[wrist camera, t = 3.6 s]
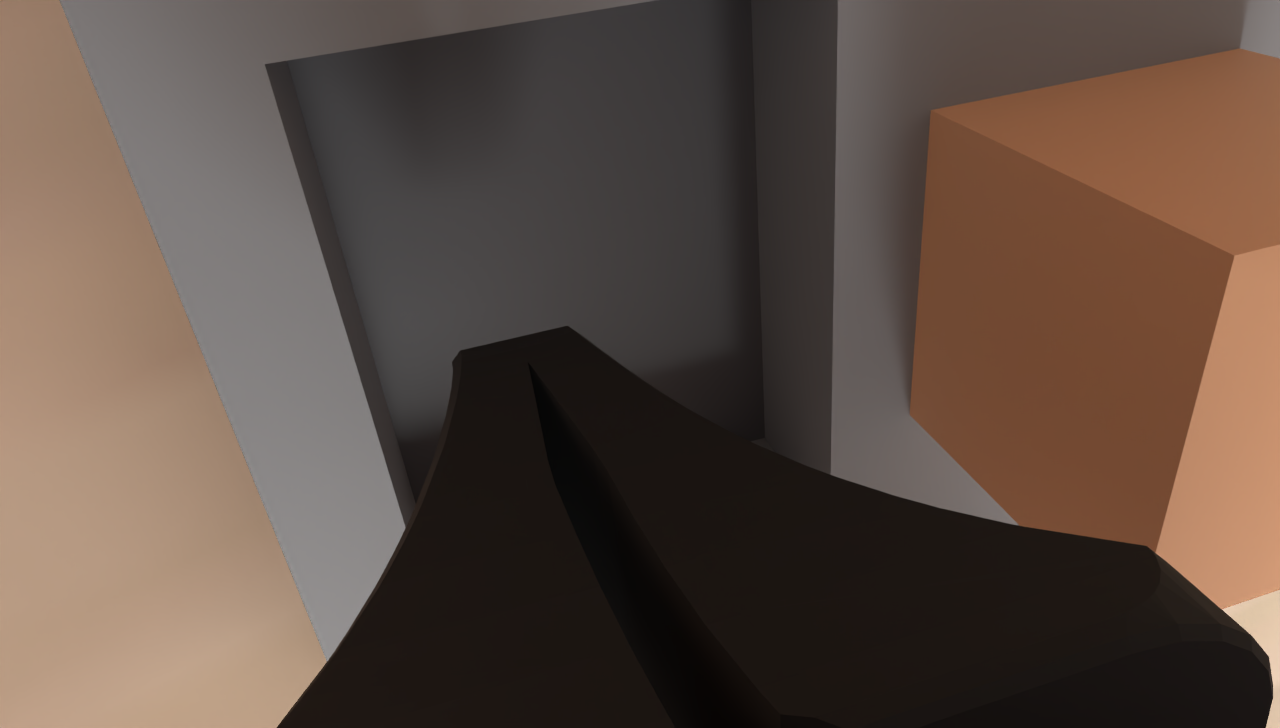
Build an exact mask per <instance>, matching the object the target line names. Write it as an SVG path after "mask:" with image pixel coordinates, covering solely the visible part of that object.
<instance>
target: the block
mask: <svg viewBox="0 0 1280 728" xmlns="http://www.w3.org/2000/svg"><path fill="white" fill-rule="evenodd" d="M910 416H911V417H912V418H913V419H914V420H915V421H916V422H917V423H918V424H919V425H920V426H921V427H922V428H923V429H924V430H925V431H926V432H927V433H928V434H929V435H930V436H931V437H932V438H933V439H934V440H935V441H936V442H937V443H938V444H939V445H940V446H941V447H942V448H943V449H944V450H945V451H946V452H947V453H948V454H949V455H950V456H951V457H952V458H953V459H954V460H955V461H956V462H957V463H958V464H959V465H960V466H961V467H962V468H963V469H964V470H965V471H966V472H967V473H968V474H969V475H970V476H971V477H972V478H973V479H974V480H975V481H976V482H977V483H978V484H979V485H980V486H981V487H982V488H983V489H984V490H985V491H986V492H987V493H988V494H989V495H990V496H991V497H992V498H993V499H994V500H995V501H996V502H997V503H998V504H999V505H1000V506H1001V507H1002V508H1003V509H1004V510H1005V511H1006V512H1007V513H1008V514H1009V515H1010V516H1011V517H1012V518H1013V519H1014V520H1015V521H1016V522H1017V523H1018V524H1019V525H1020V526H1024V527H1030V528H1036V529H1043V530H1049V531H1055V532H1062V533H1068V534H1074V535H1081V536H1087V537H1093V538H1100V539H1106V540H1112V541H1119V542H1125V543H1131V544H1138V545H1144V546H1148V547H1149V548H1150V549H1151V550H1152V551H1154V552H1155V553H1156V554H1157V555H1159V556H1160V557H1161V558H1163V559H1164V560H1165V561H1166V562H1168V563H1169V564H1170V565H1171V566H1172V567H1173V568H1174V569H1176V570H1177V571H1178V572H1179V573H1180V574H1181V575H1183V576H1184V577H1185V578H1186V579H1187V580H1188V581H1190V582H1191V583H1192V584H1193V585H1194V586H1195V587H1197V588H1198V589H1199V590H1200V591H1201V592H1202V593H1203V594H1205V595H1206V596H1207V597H1208V598H1209V599H1210V600H1211V601H1212V602H1214V603H1215V604H1216V605H1217V606H1218V607H1219V608H1220V609H1224V608H1227V607H1230V606H1233V605H1236V604H1239V603H1241V602H1244V601H1247V600H1250V599H1253V598H1256V597H1259V596H1262V595H1265V594H1268V593H1271V592H1274V591H1277V590H1280V58H1276V57H1272V56H1268V55H1264V54H1260V53H1256V52H1252V51H1248V50H1244V49H1235V50H1230V51H1225V52H1220V53H1215V54H1210V55H1205V56H1200V57H1195V58H1190V59H1185V60H1180V61H1175V62H1169V63H1164V64H1159V65H1154V66H1149V67H1144V68H1139V69H1134V70H1129V71H1124V72H1119V73H1114V74H1109V75H1104V76H1099V77H1094V78H1089V79H1084V80H1079V81H1074V82H1069V83H1064V84H1059V85H1054V86H1049V87H1044V88H1039V89H1034V90H1029V91H1024V92H1019V93H1014V94H1009V95H1004V96H999V97H994V98H989V99H984V100H979V101H974V102H969V103H964V104H959V105H954V106H949V107H944V108H939V109H934V110H931V114H930V128H929V142H928V157H927V171H926V186H925V200H924V214H923V229H922V243H921V258H920V272H919V286H918V301H917V315H916V330H915V344H914V358H913V373H912V387H911V402H910Z"/></svg>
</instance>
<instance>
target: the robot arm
mask: <svg viewBox="0 0 1280 728" xmlns="http://www.w3.org/2000/svg"><path fill="white" fill-rule="evenodd" d="M452 366H453V376H452V386H451V393H450V398H449V403H448V408H447V412H446V417H445V420H444V424H443V427H442V431H441V434H440V438H439V441H438V445H437V448H436V452H435V455H434V458H433V461H432V464H431V467H430V469H429V472H428V475H427V477H426V480H425V482H424V485H423V487H422V490H421V492H420V495H419V498H418V500H417V503H416V505H415V508H414V510H413V513H412V515H411V517H410V519H409V522H408V524H407V526H406V528H405V530H404V532H403V535H402V537H401V539H400V541H399V543H398V545H397V547H396V549H395V551H394V553H393V555H392V557H391V558H390V560H389V562H388V564H387V566H386V568H385V570H384V572H383V573H382V575H381V577H380V579H379V581H378V583H377V584H376V586H375V588H374V589H373V591H372V593H371V594H370V596H369V598H368V599H367V601H366V602H365V604H364V606H363V607H362V609H361V611H360V612H359V614H358V615H357V617H356V619H355V620H354V622H353V624H352V625H351V627H350V628H349V630H348V632H347V633H346V635H345V636H344V638H343V639H342V641H341V642H340V644H339V645H338V647H337V648H336V650H335V651H334V653H333V654H332V655H331V657H330V658H329V660H328V661H327V663H326V664H325V665H324V667H323V668H322V670H321V671H320V672H319V673H318V675H317V676H316V677H315V679H314V680H313V681H312V682H311V684H310V685H309V686H308V688H307V689H306V690H305V692H304V693H303V694H302V695H301V697H300V698H299V699H298V701H297V702H296V703H295V705H294V706H293V707H292V708H291V710H290V711H289V712H288V714H287V715H286V716H285V718H284V719H283V720H282V721H281V723H280V724H279V725H278V727H277V728H1266V724H1267V720H1268V716H1269V712H1270V708H1271V704H1272V700H1273V682H1272V675H1271V669H1270V662H1269V656H1268V655H1267V654H1266V653H1265V652H1264V650H1263V649H1262V648H1261V647H1260V646H1259V644H1258V643H1257V642H1256V641H1255V639H1254V638H1253V637H1252V636H1251V635H1250V634H1249V633H1248V632H1247V631H1246V630H1244V629H1243V628H1242V627H1241V626H1240V625H1239V624H1238V623H1236V622H1235V621H1234V620H1233V619H1232V618H1231V617H1230V616H1228V615H1227V614H1226V613H1225V612H1224V611H1223V610H1222V609H1220V608H1219V607H1218V606H1217V605H1216V604H1215V603H1214V602H1212V601H1211V600H1210V599H1209V598H1208V597H1207V596H1206V595H1205V594H1203V593H1202V592H1201V591H1200V590H1199V589H1198V588H1197V587H1195V586H1194V585H1193V584H1192V583H1191V582H1190V581H1188V580H1187V579H1186V578H1185V577H1184V576H1183V575H1181V574H1180V573H1179V572H1178V571H1177V570H1176V569H1174V568H1173V567H1172V566H1171V565H1170V564H1169V563H1168V562H1166V561H1165V560H1164V559H1163V558H1161V557H1160V556H1159V555H1157V554H1156V553H1155V552H1154V551H1152V550H1151V549H1150V548H1149V547H1148V546H1144V545H1138V544H1131V543H1125V542H1119V541H1112V540H1106V539H1100V538H1093V537H1087V536H1081V535H1074V534H1068V533H1062V532H1055V531H1049V530H1043V529H1036V528H1030V527H1024V526H1018V525H1013V524H1008V523H1004V522H999V521H995V520H990V519H986V518H982V517H977V516H973V515H969V514H964V513H960V512H955V511H951V510H947V509H942V508H938V507H935V506H931V505H927V504H923V503H920V502H916V501H912V500H909V499H905V498H901V497H898V496H894V495H891V494H888V493H885V492H882V491H879V490H876V489H872V488H869V487H866V486H863V485H860V484H857V483H854V482H851V481H848V480H845V479H842V478H838V477H836V476H833V475H830V474H827V473H825V472H822V471H819V470H817V469H814V468H811V467H809V466H806V465H803V464H801V463H799V462H796V461H794V460H792V459H789V458H787V457H785V456H782V455H780V454H778V453H775V452H773V451H771V450H768V449H766V448H764V447H761V446H759V445H757V444H754V443H752V442H750V441H748V440H746V439H744V438H742V437H740V436H738V435H736V434H734V433H732V432H730V431H728V430H726V429H724V428H722V427H721V426H719V425H717V424H715V423H713V422H711V421H710V420H708V419H706V418H704V417H702V416H700V415H698V414H697V413H695V412H693V411H691V410H689V409H688V408H686V407H684V406H683V405H681V404H679V403H678V402H676V401H675V400H673V399H672V398H670V397H669V396H667V395H665V394H664V393H662V392H661V391H659V390H658V389H656V388H655V387H653V386H652V385H650V384H648V383H647V382H645V381H644V380H642V379H641V378H640V377H638V376H637V375H635V374H634V373H632V372H631V371H629V370H628V369H627V368H625V367H624V366H622V365H621V364H620V363H618V362H617V361H616V360H614V359H613V358H611V357H610V356H609V355H607V354H606V353H605V352H603V351H602V350H601V349H599V348H598V347H597V346H595V345H594V344H593V343H591V342H590V341H589V340H587V339H586V338H585V337H583V336H582V335H581V334H579V333H578V332H576V331H575V330H573V329H572V328H570V327H569V326H564V327H559V328H555V329H551V330H546V331H542V332H538V333H533V334H529V335H525V336H520V337H516V338H512V339H507V340H503V341H499V342H494V343H490V344H486V345H482V346H477V347H473V348H469V349H464V350H460V351H459V353H458V354H457V356H456V357H455V358H454V360H453V361H452Z"/></svg>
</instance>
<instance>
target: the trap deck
mask: <svg viewBox="0 0 1280 728" xmlns="http://www.w3.org/2000/svg"><path fill="white" fill-rule="evenodd" d="M60 3H61V5H62V8H63V10H64V12H65V15H66V17H67V20H68V22H69V25H70V27H71V30H72V32H73V35H74V37H75V40H76V42H77V45H78V47H79V50H80V52H81V55H82V57H83V59H84V62H85V64H86V67H87V69H88V72H89V74H90V77H91V79H92V82H93V84H94V87H95V89H96V92H97V94H98V97H99V99H100V101H101V104H102V106H103V109H104V111H105V114H106V116H107V119H108V121H109V124H110V126H111V129H112V131H113V134H114V136H115V139H116V141H117V144H118V146H119V148H120V151H121V153H122V156H123V158H124V161H125V163H126V166H127V168H128V171H129V173H130V176H131V178H132V181H133V183H134V186H135V188H136V191H137V193H138V195H139V198H140V200H141V203H142V205H143V208H144V210H145V213H146V215H147V218H148V220H149V223H150V225H151V228H152V230H153V233H154V235H155V237H156V240H157V242H158V245H159V247H160V250H161V252H162V255H163V257H164V260H165V262H166V265H167V267H168V270H169V272H170V275H171V277H172V280H173V282H174V284H175V287H176V289H177V292H178V294H179V297H180V299H181V302H182V304H183V307H184V309H185V312H186V314H187V317H188V319H189V322H190V324H191V327H192V329H193V331H194V334H195V336H196V339H197V341H198V344H199V346H200V349H201V351H202V354H203V356H204V359H205V361H206V364H207V366H208V369H209V371H210V373H211V376H212V378H213V381H214V383H215V386H216V388H217V391H218V393H219V396H220V398H221V401H222V403H223V406H224V408H225V411H226V413H227V416H228V418H229V420H230V423H231V425H232V428H233V430H234V433H235V435H236V438H237V440H238V443H239V445H240V448H241V450H242V453H243V455H244V458H245V460H246V463H247V465H248V467H249V470H250V472H251V475H252V477H253V480H254V482H255V485H256V487H257V490H258V492H259V495H260V497H261V500H262V502H263V505H264V507H265V509H266V512H267V514H268V517H269V519H270V522H271V524H272V527H273V529H274V532H275V534H276V537H277V539H278V542H279V544H280V547H281V549H282V552H283V554H284V556H285V559H286V561H287V564H288V566H289V569H290V571H291V574H292V576H293V579H294V581H295V584H296V586H297V589H298V591H299V594H300V596H301V599H302V601H303V603H304V606H305V608H306V611H307V613H308V616H309V618H310V621H311V623H312V626H313V628H314V631H315V633H316V636H317V638H318V641H319V643H320V645H321V648H322V650H323V653H324V655H325V658H326V660H327V661H328V660H329V658H330V657H331V655H332V654H333V653H334V651H335V650H336V648H337V647H338V645H339V644H340V642H341V641H342V639H343V638H344V636H345V635H346V633H347V632H348V630H349V628H350V627H351V625H352V624H353V622H354V620H355V619H356V617H357V615H358V614H359V612H360V611H361V609H362V607H363V606H364V604H365V602H366V601H367V599H368V598H369V596H370V594H371V593H372V591H373V589H374V588H375V586H376V584H377V583H378V581H379V579H380V577H381V575H382V573H383V572H384V570H385V568H386V566H387V564H388V562H389V560H390V558H391V557H392V555H393V553H394V551H395V549H396V547H397V545H398V543H399V541H400V539H401V537H402V535H403V532H404V530H405V528H406V526H407V524H408V522H409V519H410V517H411V515H412V513H413V510H414V508H415V505H416V503H417V500H418V498H419V495H420V492H421V490H422V487H423V485H424V482H425V480H426V477H427V475H428V472H429V469H430V467H431V464H432V461H433V458H434V455H435V452H436V448H437V445H438V441H439V438H440V434H441V431H442V427H443V424H444V420H445V417H446V412H447V408H448V403H449V398H450V393H451V386H452V376H453V366H452V361H453V360H454V358H455V357H456V356H457V354H458V353H459V351H460V350H464V349H469V348H473V347H477V346H482V345H486V344H490V343H494V342H499V341H503V340H507V339H512V338H516V337H520V336H525V335H529V334H533V333H538V332H542V331H546V330H551V329H555V328H559V327H564V326H569V327H570V328H572V329H573V330H575V331H576V332H578V333H579V334H581V335H582V336H583V337H585V338H586V339H587V340H589V341H590V342H591V343H593V344H594V345H595V346H597V347H598V348H599V349H601V350H602V351H603V352H605V353H606V354H607V355H609V356H610V357H611V358H613V359H614V360H616V361H617V362H618V363H620V364H621V365H622V366H624V367H625V368H627V369H628V370H629V371H631V372H632V373H634V374H635V375H637V376H638V377H640V378H641V379H642V380H644V381H645V382H647V383H648V384H650V385H652V386H653V387H655V388H656V389H658V390H659V391H661V392H662V393H664V394H665V395H667V396H669V397H670V398H672V399H673V400H675V401H676V402H678V403H679V404H681V405H683V406H684V407H686V408H688V409H689V410H691V411H693V412H695V413H697V414H698V415H700V416H702V417H704V418H706V419H708V420H710V421H711V422H713V423H715V424H717V425H719V426H721V427H722V428H724V429H726V430H728V431H730V432H732V433H734V434H736V435H738V436H740V437H742V438H744V439H746V440H748V441H750V442H752V443H754V444H757V445H759V446H761V447H764V448H766V449H768V450H771V451H773V452H775V453H778V454H780V455H782V456H785V457H787V458H789V459H792V460H794V461H796V462H799V463H801V464H803V465H806V466H809V467H811V468H814V469H817V470H819V471H822V472H825V473H827V474H830V475H833V476H836V477H838V478H842V479H845V480H848V481H851V482H854V483H857V484H860V485H863V486H866V487H869V488H872V489H876V490H879V491H882V492H885V493H888V494H891V495H894V496H898V497H901V498H905V499H909V500H912V501H916V502H920V503H923V504H927V505H931V506H935V507H938V508H942V509H947V510H951V511H955V512H960V513H964V514H969V515H973V516H977V517H982V518H986V519H990V520H995V521H999V522H1004V523H1008V524H1013V525H1018V526H1020V525H1019V524H1018V523H1017V522H1016V521H1015V520H1014V519H1013V518H1012V517H1011V516H1010V515H1009V514H1008V513H1007V512H1006V511H1005V510H1004V509H1003V508H1002V507H1001V506H1000V505H999V504H998V503H997V502H996V501H995V500H994V499H993V498H992V497H991V496H990V495H989V494H988V493H987V492H986V491H985V490H984V489H983V488H982V487H981V486H980V485H979V484H978V483H977V482H976V481H975V480H974V479H973V478H972V477H971V476H970V475H969V474H968V473H967V472H966V471H965V470H964V469H963V468H962V467H961V466H960V465H959V464H958V463H957V462H956V461H955V460H954V459H953V458H952V457H951V456H950V455H949V454H948V453H947V452H946V451H945V450H944V449H943V448H942V447H941V446H940V445H939V444H938V443H937V442H936V441H935V440H934V439H933V438H932V437H931V436H930V435H929V434H928V433H927V432H926V431H925V430H924V429H923V428H922V427H921V426H920V425H919V424H918V423H917V422H916V421H915V420H914V419H913V418H912V417H911V416H910V402H911V387H912V373H913V358H914V344H915V330H916V315H917V301H918V286H919V272H920V258H921V243H922V229H923V214H924V200H925V186H926V171H927V157H928V142H929V128H930V114H931V110H934V109H939V108H944V107H949V106H954V105H959V104H964V103H969V102H974V101H979V100H984V99H989V98H994V97H999V96H1004V95H1009V94H1014V93H1019V92H1024V91H1029V90H1034V89H1039V88H1044V87H1049V86H1054V85H1059V84H1064V83H1069V82H1074V81H1079V80H1084V79H1089V78H1094V77H1099V76H1104V75H1109V74H1114V73H1119V72H1124V71H1129V70H1134V69H1139V68H1144V67H1149V66H1154V65H1159V64H1164V63H1169V62H1175V61H1180V60H1185V59H1190V58H1195V57H1200V56H1205V55H1210V54H1215V53H1220V52H1225V51H1230V50H1235V49H1244V50H1248V51H1252V52H1256V53H1260V54H1264V55H1268V56H1272V57H1276V58H1280V0H60Z"/></svg>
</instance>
